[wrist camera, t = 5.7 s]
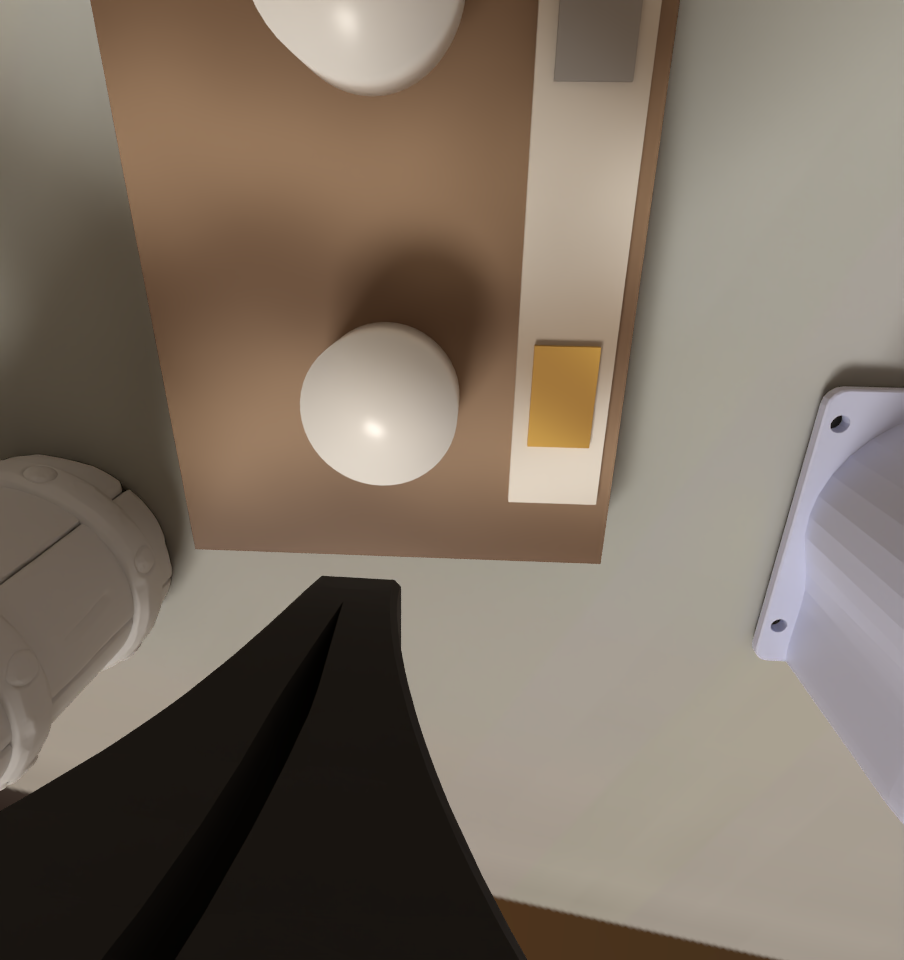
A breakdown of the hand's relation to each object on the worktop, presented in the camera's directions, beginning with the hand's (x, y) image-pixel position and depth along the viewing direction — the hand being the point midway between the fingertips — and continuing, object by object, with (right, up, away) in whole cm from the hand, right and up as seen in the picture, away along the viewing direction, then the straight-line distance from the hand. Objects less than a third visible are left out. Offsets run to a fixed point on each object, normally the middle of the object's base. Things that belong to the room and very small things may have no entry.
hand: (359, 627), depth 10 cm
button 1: (0, +5, +5) cm, 7 cm away
